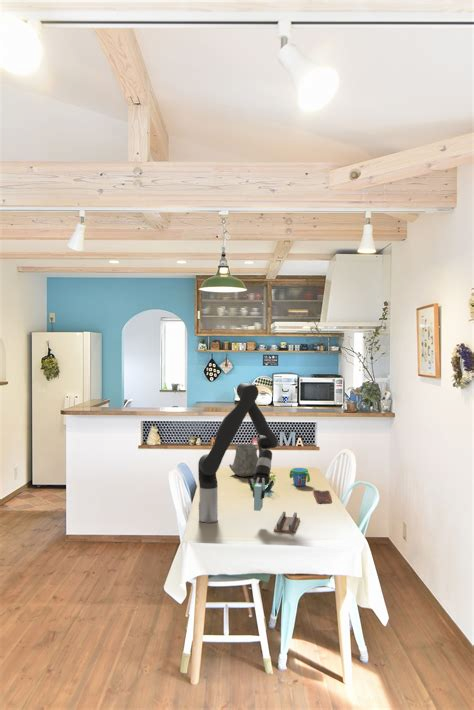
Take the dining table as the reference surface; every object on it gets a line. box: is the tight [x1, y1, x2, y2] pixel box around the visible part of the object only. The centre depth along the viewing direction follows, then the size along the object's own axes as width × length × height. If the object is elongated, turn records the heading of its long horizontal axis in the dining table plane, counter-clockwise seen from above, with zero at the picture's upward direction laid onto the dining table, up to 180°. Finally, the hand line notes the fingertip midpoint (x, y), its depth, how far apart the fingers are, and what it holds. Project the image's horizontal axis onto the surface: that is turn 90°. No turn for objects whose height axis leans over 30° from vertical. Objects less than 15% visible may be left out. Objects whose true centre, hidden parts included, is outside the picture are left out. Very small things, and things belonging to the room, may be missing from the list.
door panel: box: [253, 483, 264, 512], centre depth 269 cm, size 3×7×12 cm, turn 166°
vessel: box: [228, 444, 259, 478], centre depth 371 cm, size 22×22×20 cm
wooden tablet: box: [312, 489, 333, 505], centre depth 318 cm, size 26×2×10 cm
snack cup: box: [289, 467, 311, 487], centre depth 344 cm, size 16×10×10 cm
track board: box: [273, 511, 301, 534], centre depth 269 cm, size 10×20×4 cm, turn 166°
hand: (258, 498), depth 268 cm, fingers closed on door panel, 3 cm apart
